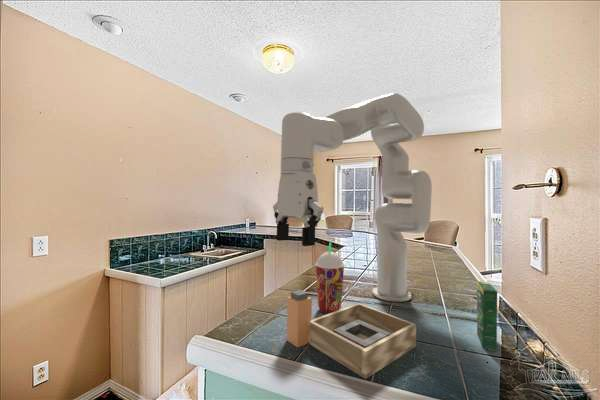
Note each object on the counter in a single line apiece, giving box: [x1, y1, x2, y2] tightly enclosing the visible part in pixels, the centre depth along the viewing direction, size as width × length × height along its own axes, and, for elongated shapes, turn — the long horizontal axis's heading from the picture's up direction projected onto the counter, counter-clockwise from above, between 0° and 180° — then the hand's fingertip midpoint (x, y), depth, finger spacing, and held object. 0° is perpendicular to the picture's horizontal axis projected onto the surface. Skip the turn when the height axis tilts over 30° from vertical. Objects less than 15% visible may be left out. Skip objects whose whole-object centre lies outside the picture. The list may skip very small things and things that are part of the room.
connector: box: [286, 289, 313, 348], centre depth 63 cm, size 4×4×11 cm
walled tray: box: [307, 302, 417, 380], centre depth 62 cm, size 18×16×5 cm
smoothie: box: [315, 242, 345, 315], centre depth 81 cm, size 8×8×20 cm
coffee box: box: [476, 281, 498, 352], centre depth 64 cm, size 8×3×13 cm, turn 155°
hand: (294, 242), depth 63 cm, fingers open, 9 cm apart
